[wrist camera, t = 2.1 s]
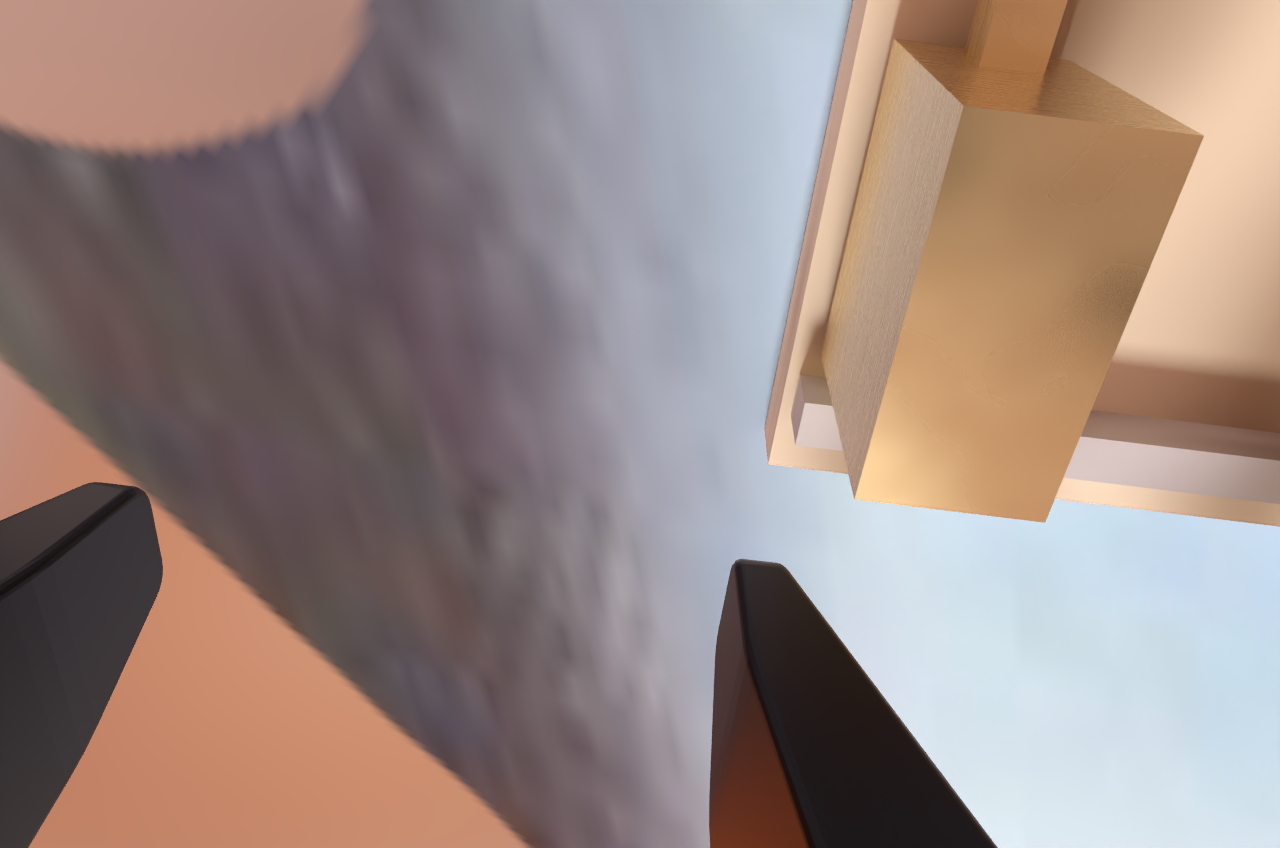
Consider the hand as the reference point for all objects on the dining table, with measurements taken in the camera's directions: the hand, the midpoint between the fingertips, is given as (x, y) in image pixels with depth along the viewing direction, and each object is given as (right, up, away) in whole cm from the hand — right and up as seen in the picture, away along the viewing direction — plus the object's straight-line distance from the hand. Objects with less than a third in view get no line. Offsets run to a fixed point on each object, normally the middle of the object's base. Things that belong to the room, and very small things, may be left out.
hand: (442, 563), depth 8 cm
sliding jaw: (+7, +7, +9) cm, 13 cm away
